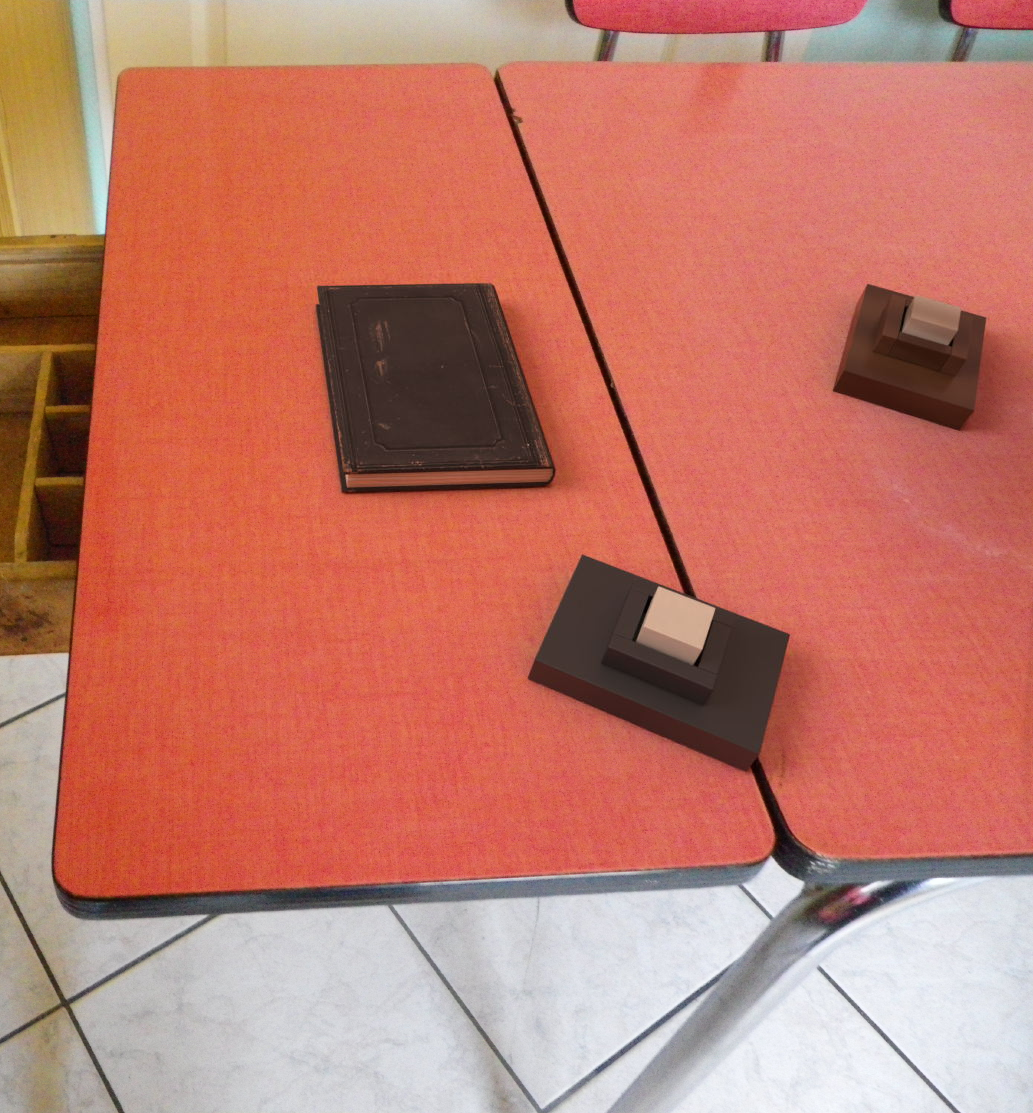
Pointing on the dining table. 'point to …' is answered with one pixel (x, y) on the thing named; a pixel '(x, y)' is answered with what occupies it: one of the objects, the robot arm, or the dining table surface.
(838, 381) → the far block
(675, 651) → the near key
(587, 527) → the dining table surface
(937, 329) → the far key
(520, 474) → the hardcover book
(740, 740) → the near block
